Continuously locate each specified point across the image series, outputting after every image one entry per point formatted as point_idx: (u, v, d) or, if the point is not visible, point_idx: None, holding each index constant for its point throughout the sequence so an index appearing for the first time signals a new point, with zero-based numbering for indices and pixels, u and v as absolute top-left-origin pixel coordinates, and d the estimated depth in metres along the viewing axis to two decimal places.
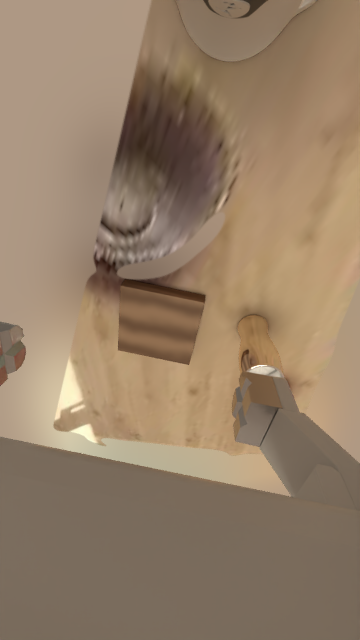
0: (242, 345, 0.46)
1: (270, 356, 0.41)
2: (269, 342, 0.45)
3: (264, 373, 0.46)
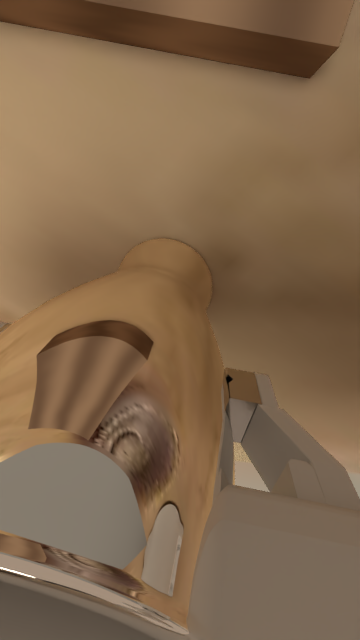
0: (172, 294, 0.08)
1: None
2: None
3: None
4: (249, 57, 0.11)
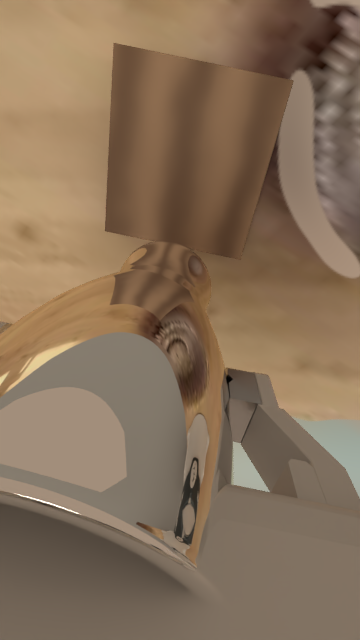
0: (174, 291, 0.08)
1: None
2: None
3: None
4: None
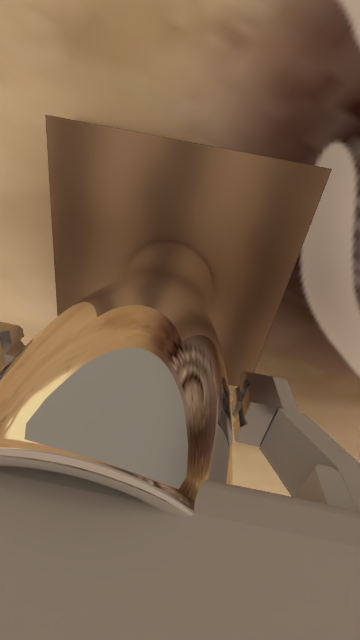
0: (180, 296, 0.09)
1: None
2: None
3: None
4: None
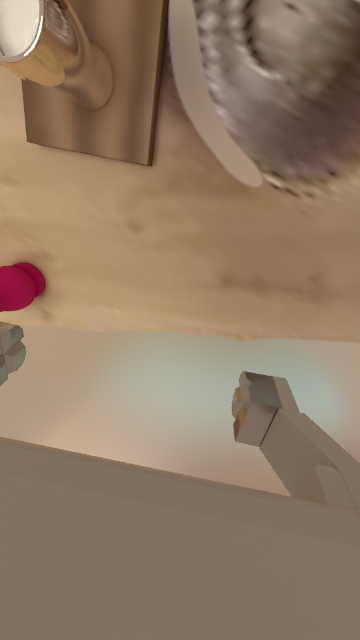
0: None
1: (61, 30, 0.19)
2: (82, 62, 0.23)
3: (9, 50, 0.22)
4: None
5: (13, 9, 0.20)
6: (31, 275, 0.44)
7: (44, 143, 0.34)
